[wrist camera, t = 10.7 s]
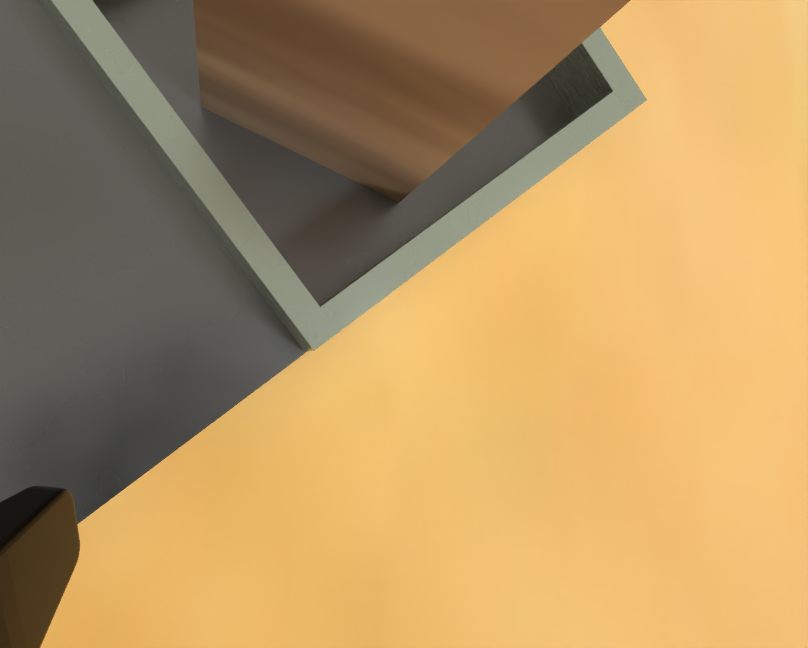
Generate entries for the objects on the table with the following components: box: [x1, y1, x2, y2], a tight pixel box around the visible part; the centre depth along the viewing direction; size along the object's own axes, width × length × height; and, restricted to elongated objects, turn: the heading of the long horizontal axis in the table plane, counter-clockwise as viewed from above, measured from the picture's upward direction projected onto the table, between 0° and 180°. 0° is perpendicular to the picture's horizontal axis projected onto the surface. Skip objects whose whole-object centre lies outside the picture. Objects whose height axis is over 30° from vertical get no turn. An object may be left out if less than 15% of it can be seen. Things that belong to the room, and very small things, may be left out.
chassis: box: [0, 0, 647, 524], centre depth 17 cm, size 22×16×3 cm
